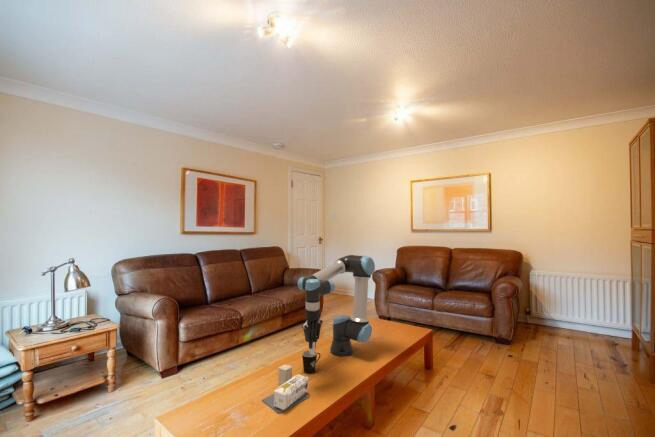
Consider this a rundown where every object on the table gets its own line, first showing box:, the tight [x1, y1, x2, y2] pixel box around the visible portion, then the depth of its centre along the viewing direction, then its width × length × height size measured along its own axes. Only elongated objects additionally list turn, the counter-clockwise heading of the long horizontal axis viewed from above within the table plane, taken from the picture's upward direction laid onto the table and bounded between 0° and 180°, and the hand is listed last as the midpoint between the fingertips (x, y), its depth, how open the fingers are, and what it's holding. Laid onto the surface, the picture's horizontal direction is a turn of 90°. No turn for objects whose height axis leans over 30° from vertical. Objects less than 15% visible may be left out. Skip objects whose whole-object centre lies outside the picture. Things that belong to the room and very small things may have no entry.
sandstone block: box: [277, 364, 293, 387], centre depth 158 cm, size 5×5×9 cm
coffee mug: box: [301, 350, 321, 375], centre depth 173 cm, size 12×9×10 cm
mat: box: [261, 393, 310, 415], centre depth 145 cm, size 18×14×1 cm
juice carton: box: [273, 373, 309, 411], centre depth 143 cm, size 8×9×19 cm
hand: (312, 354), depth 157 cm, fingers closed
